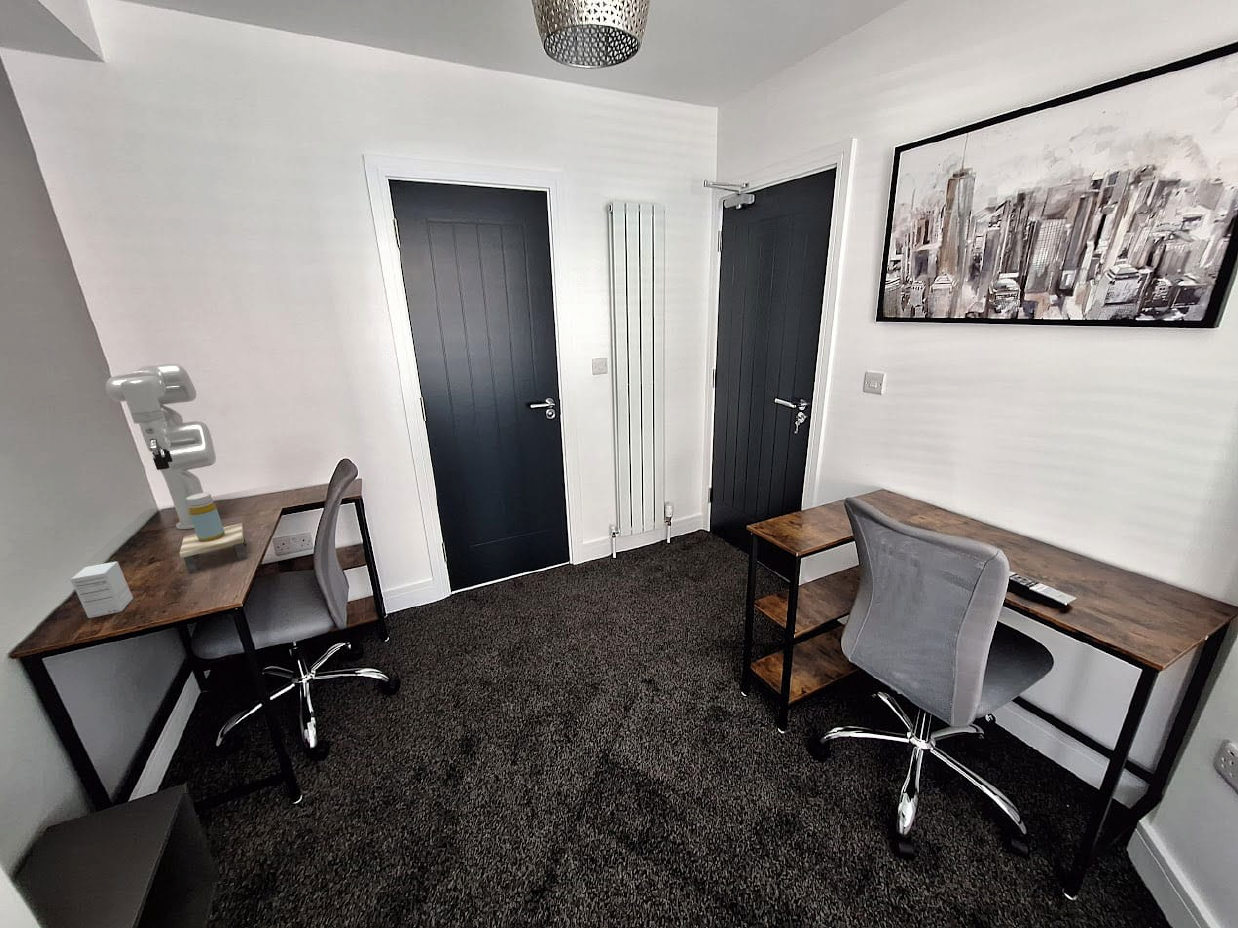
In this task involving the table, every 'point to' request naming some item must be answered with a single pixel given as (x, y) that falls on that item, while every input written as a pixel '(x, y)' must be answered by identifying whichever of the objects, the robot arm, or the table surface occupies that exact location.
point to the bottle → (205, 517)
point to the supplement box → (102, 589)
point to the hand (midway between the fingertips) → (165, 465)
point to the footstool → (212, 545)
